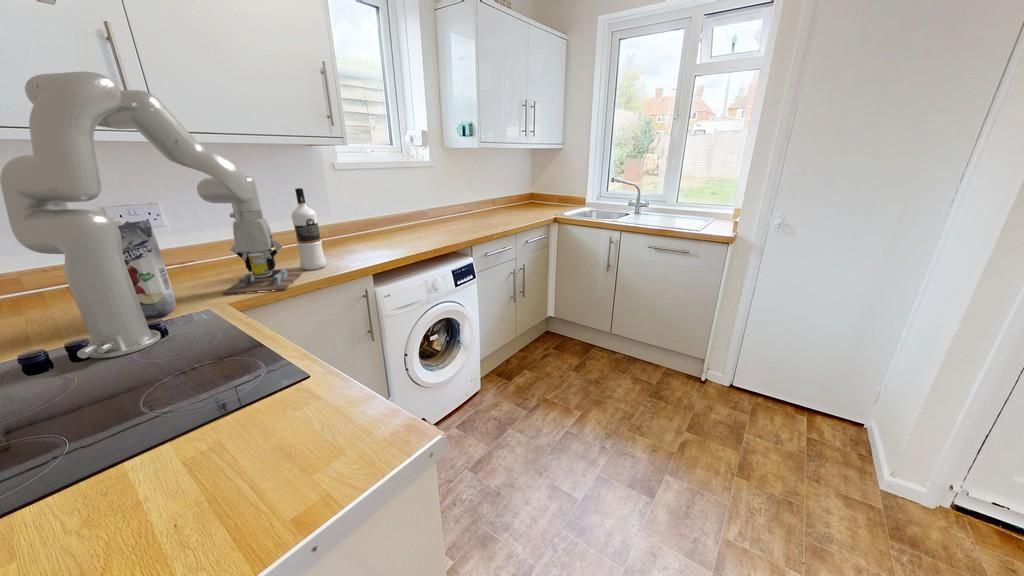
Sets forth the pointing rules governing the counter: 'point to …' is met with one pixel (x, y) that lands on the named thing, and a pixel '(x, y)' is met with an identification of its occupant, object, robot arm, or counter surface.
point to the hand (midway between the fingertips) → (261, 269)
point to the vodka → (307, 235)
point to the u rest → (263, 282)
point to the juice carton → (146, 268)
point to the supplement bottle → (259, 264)
